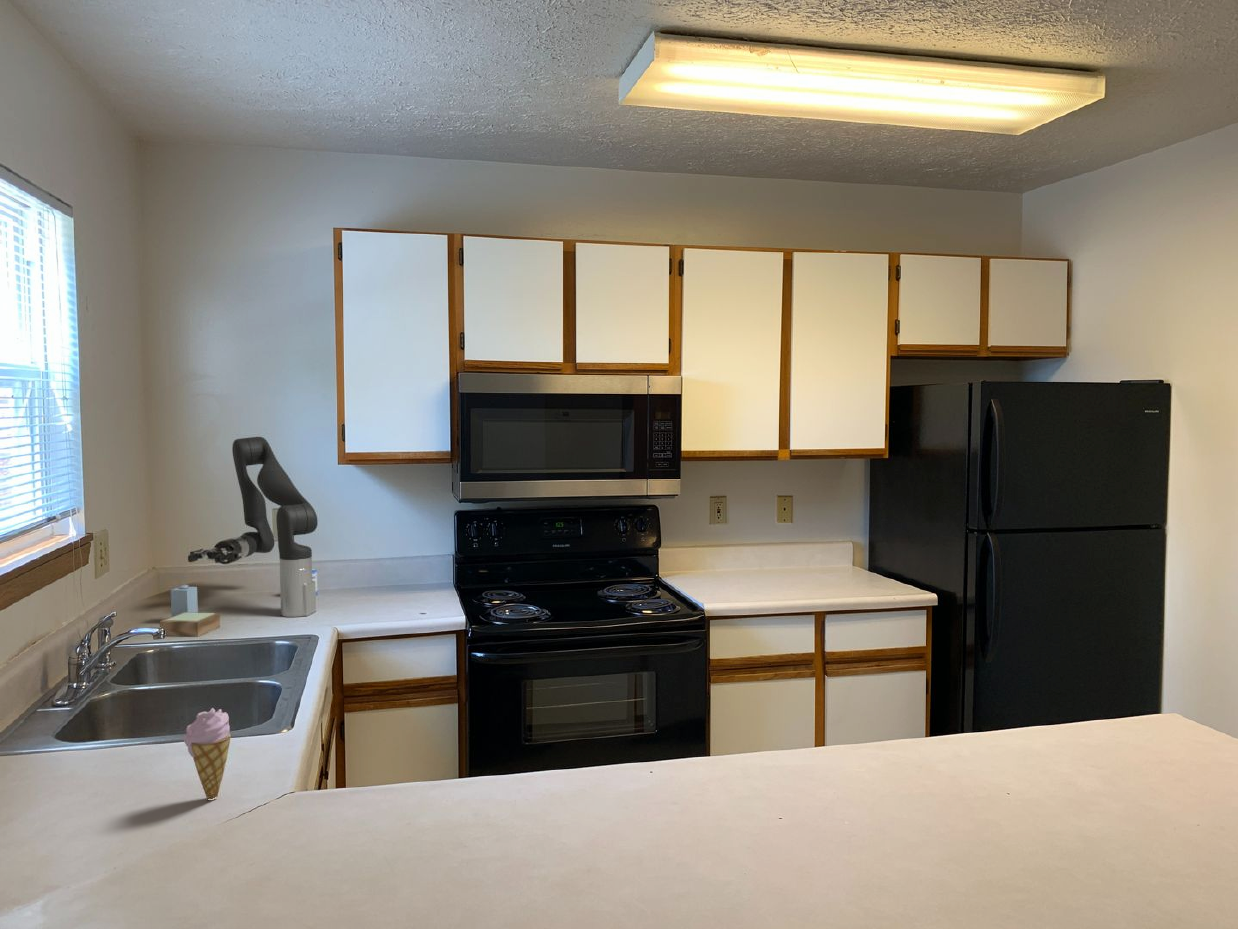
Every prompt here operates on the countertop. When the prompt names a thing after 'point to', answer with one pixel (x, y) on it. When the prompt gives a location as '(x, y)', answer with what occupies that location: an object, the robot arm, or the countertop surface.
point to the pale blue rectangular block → (184, 600)
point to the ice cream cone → (209, 748)
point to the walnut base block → (190, 624)
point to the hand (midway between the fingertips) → (202, 559)
